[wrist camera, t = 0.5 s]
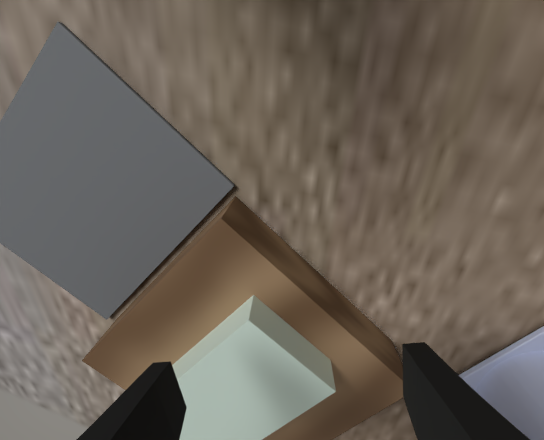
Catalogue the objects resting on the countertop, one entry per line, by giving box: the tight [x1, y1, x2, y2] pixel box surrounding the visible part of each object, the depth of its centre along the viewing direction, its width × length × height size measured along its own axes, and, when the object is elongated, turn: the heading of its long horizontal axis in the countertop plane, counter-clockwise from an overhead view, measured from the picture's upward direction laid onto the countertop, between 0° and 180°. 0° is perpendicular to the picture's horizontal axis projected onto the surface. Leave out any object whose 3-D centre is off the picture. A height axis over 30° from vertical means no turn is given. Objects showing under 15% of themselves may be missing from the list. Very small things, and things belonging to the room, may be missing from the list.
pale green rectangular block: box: [172, 295, 336, 440], centre depth 16 cm, size 6×9×2 cm, turn 136°
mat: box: [0, 22, 235, 320], centre depth 18 cm, size 12×14×1 cm
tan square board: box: [82, 196, 403, 440], centre depth 19 cm, size 15×13×4 cm
